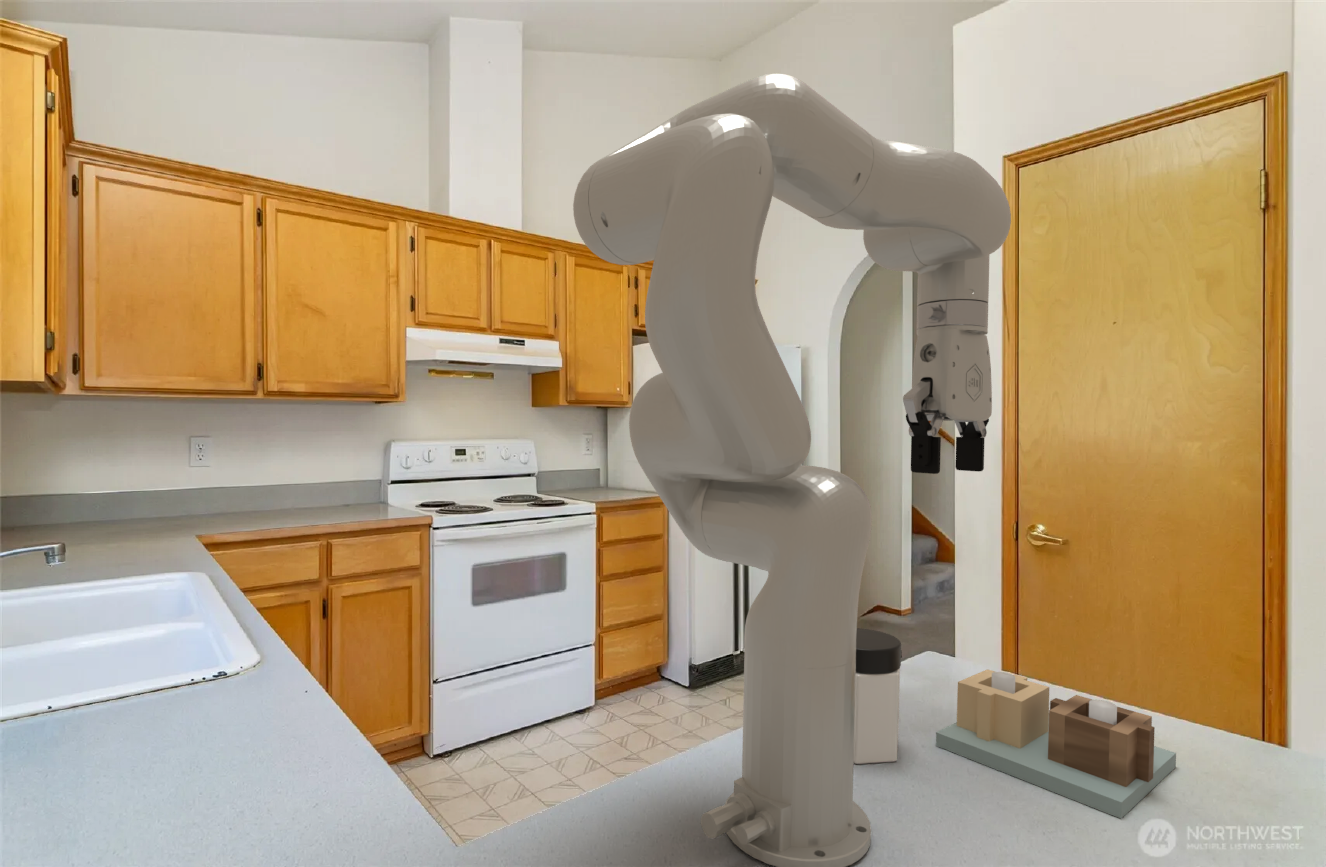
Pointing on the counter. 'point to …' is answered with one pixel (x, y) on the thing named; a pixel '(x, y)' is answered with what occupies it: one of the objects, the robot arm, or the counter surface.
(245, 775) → the counter surface
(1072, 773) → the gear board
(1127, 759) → the ribbed wooden holder
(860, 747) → the jar
